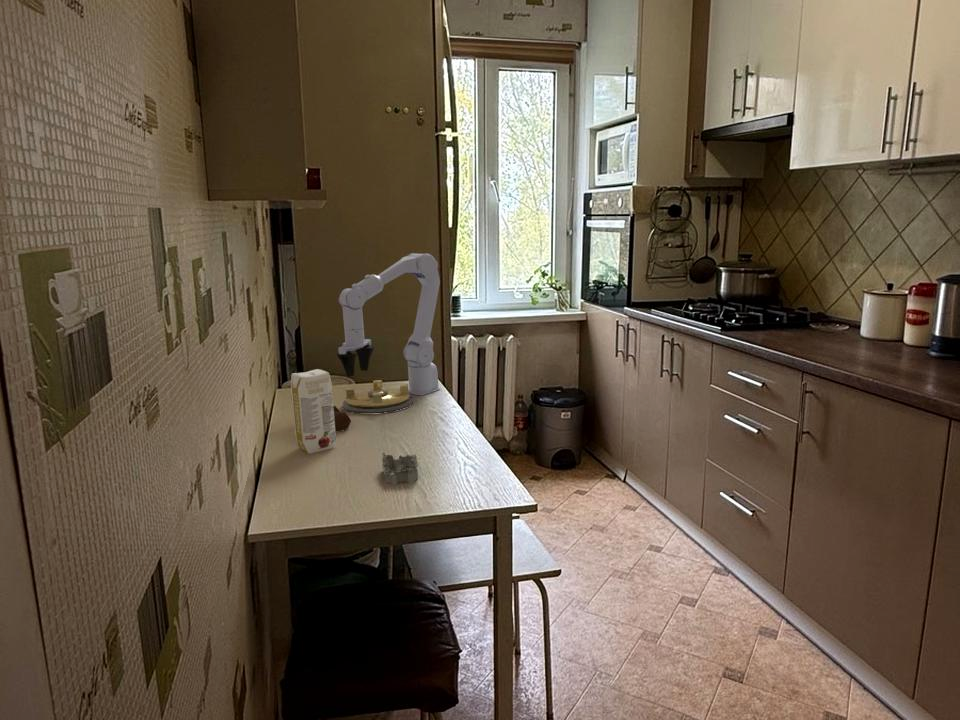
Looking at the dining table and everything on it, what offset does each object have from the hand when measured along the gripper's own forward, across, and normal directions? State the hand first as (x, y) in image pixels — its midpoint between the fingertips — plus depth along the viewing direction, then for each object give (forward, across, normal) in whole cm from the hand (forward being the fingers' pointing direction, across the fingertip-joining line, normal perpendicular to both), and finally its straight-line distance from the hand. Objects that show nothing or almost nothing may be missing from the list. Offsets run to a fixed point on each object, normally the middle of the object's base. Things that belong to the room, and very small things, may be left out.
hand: (357, 373), depth 202 cm
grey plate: (+10, 0, +6) cm, 11 cm away
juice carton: (+10, +39, +13) cm, 43 cm away
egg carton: (+10, +48, +42) cm, 65 cm away
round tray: (+8, -1, +6) cm, 10 cm away
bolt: (+10, +20, +5) cm, 23 cm away
